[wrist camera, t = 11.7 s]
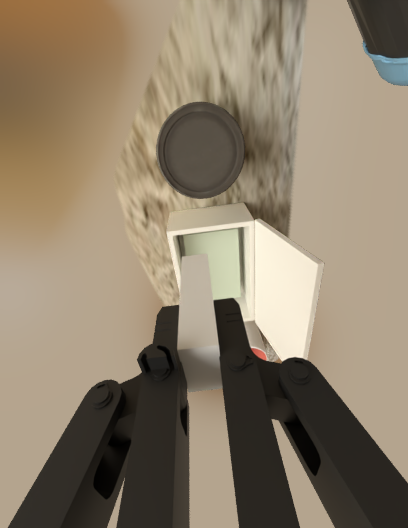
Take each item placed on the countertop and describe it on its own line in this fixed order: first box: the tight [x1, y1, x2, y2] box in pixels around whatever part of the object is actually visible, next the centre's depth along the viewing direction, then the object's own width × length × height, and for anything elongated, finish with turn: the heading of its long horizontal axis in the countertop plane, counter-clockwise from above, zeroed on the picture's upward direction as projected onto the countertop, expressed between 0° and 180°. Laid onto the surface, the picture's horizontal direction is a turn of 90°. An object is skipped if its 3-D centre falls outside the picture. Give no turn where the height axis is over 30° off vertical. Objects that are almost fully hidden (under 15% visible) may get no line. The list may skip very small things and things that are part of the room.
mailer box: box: [167, 202, 255, 322], centre depth 48 cm, size 14×22×9 cm, turn 7°
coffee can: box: [156, 102, 245, 199], centre depth 34 cm, size 10×10×14 cm
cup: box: [244, 321, 268, 361], centre depth 60 cm, size 10×10×10 cm
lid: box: [255, 218, 324, 362], centre depth 38 cm, size 14×23×1 cm
